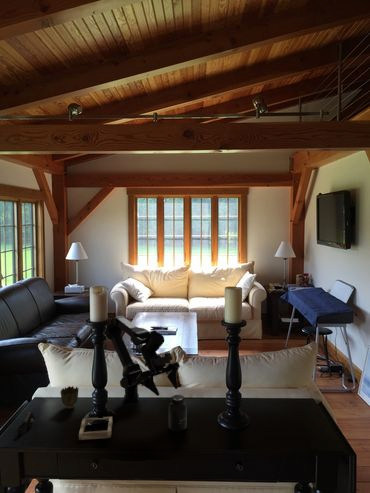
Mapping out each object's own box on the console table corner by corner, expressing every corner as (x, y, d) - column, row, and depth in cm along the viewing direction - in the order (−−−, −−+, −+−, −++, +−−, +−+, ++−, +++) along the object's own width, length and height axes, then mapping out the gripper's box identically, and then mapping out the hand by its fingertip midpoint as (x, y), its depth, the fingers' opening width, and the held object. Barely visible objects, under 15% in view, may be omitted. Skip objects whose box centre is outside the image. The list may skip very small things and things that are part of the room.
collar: (83, 423, 154) (82, 418, 154) (112, 421, 156) (112, 416, 156) (78, 440, 143) (78, 434, 143) (110, 437, 144) (110, 431, 144)
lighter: (26, 440, 148) (21, 432, 145) (21, 439, 148) (15, 431, 145) (36, 418, 155) (32, 410, 151) (31, 417, 155) (26, 409, 152)
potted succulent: (57, 410, 166) (56, 391, 165) (68, 402, 172) (67, 384, 172) (71, 413, 163) (71, 394, 162) (82, 405, 170) (82, 387, 169)
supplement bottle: (184, 433, 147) (184, 402, 146) (167, 431, 149) (166, 400, 148) (188, 423, 154) (188, 394, 153) (171, 422, 155) (171, 392, 154)
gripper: (139, 352, 152) (157, 389, 144) (176, 342, 164) (195, 375, 156) (129, 366, 158) (145, 402, 151) (165, 356, 170) (182, 388, 163)
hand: (167, 391), depth 155 cm, fingers open, 9 cm apart
